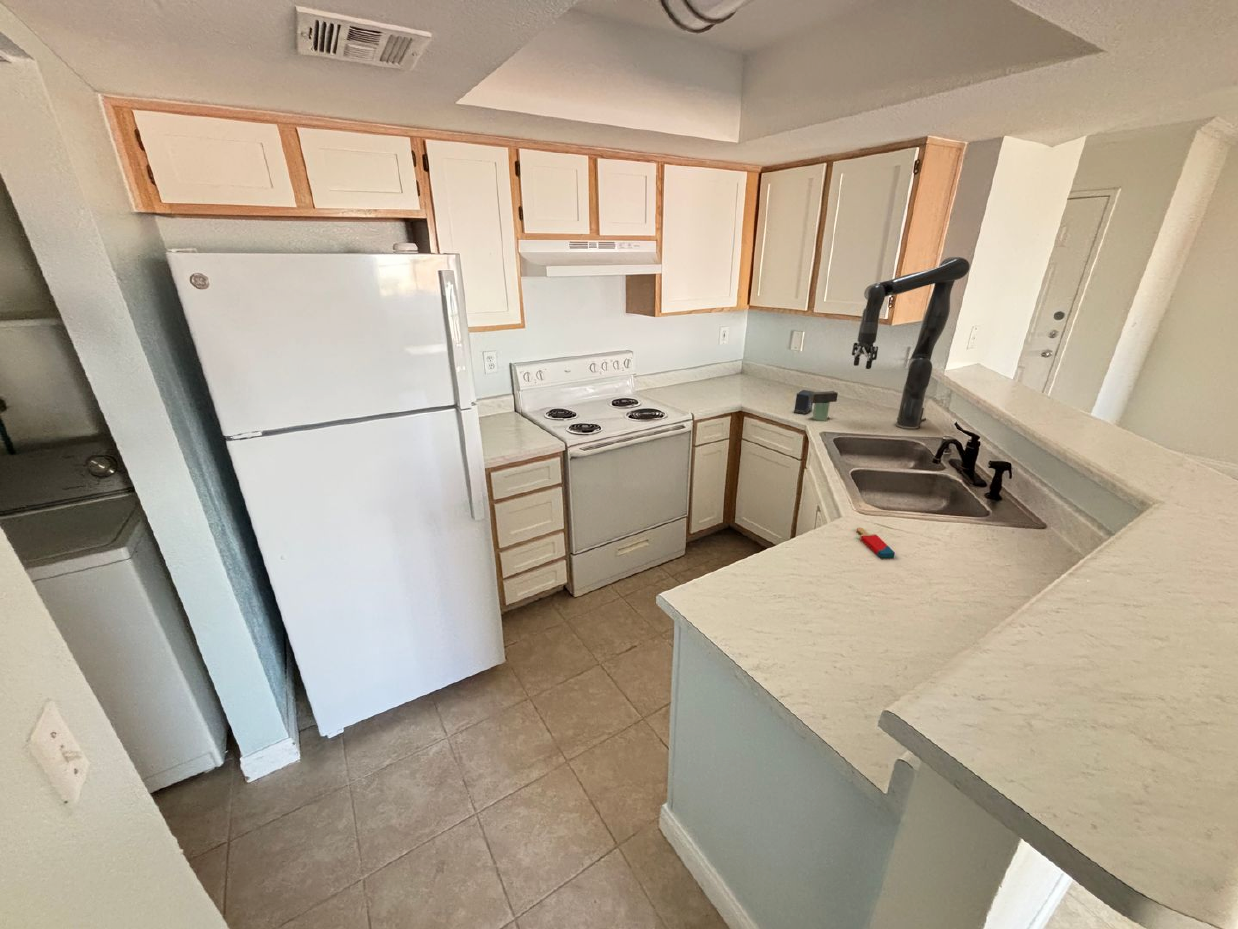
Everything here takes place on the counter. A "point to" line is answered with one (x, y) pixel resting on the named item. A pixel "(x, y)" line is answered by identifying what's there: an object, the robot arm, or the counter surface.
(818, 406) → the cup
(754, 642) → the counter surface
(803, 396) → the small box
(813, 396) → the bar
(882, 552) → the popsicle
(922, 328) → the robot arm
